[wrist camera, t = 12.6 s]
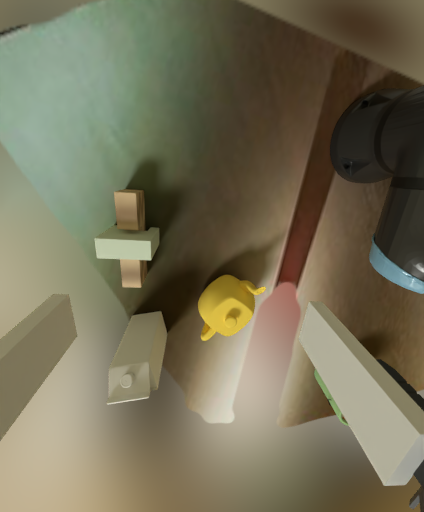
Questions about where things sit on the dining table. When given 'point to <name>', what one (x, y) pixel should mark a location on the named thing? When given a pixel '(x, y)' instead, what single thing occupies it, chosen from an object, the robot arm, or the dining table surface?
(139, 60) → the dining table surface
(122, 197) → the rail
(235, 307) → the teapot
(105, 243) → the block
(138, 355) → the milk carton
